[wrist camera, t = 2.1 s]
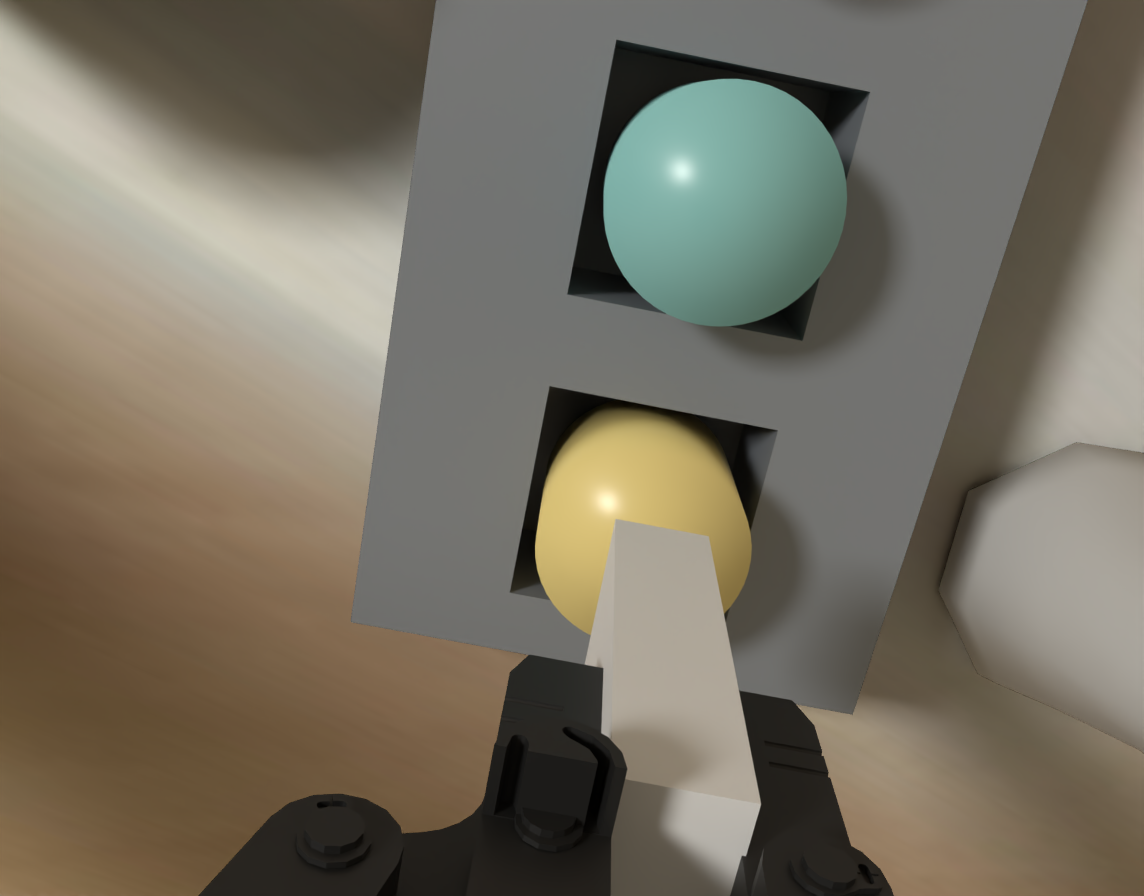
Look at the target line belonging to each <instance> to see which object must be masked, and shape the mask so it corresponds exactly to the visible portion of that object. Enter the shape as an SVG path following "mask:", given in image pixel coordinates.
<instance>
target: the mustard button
mask: <svg viewBox="0 0 1144 896" xmlns="http://www.w3.org/2000/svg"><path fill="white" fill-rule="evenodd" d="M615 519H619V520H624V521H630V522H635V523H641V524H646V525H651V526H657V527H662V528H667V529H673V530H678V531H683V532H689V533H694V534H699V535H705V536H709V541H710V546H711V551H712V556H713V561H714V566H715V571H716V576H717V581H718V587H719V592H720V597H721V602H722V607H723V612H724V613H725V612H726V611H727V610H728V609H729V608H730V607H731V605H732V604H733V602H734V601H735V600H736V598H737V597H738V595H739V593H740V591H741V589H742V587H743V585H744V583H745V580H746V578H747V575H748V572H749V567H750V562H751V550H752V544H751V533H750V529H749V525H748V521H747V518H746V515H745V512H744V509H743V506H742V503H741V500H740V497H739V494H738V491H737V488H736V485H735V482H734V479H733V476H732V473H731V470H730V467H729V464H728V461H727V458H726V456H725V453H724V451H723V448H722V446H721V445H720V443H719V441H718V439H717V438H716V436H715V435H714V434H713V432H712V431H711V430H710V429H709V428H708V427H707V426H706V425H705V424H704V423H703V422H702V421H701V420H700V419H699V418H698V417H696V416H695V415H694V414H691V413H686V412H681V411H676V410H670V409H665V408H660V407H655V406H650V405H645V404H639V403H634V402H629V401H624V400H615V401H611V402H607V403H605V404H602V405H600V406H597V407H595V408H593V409H591V410H590V411H588V412H586V413H585V414H583V415H582V416H580V417H579V418H578V419H576V420H575V421H574V422H573V423H572V424H571V425H570V426H569V427H568V428H567V429H566V430H565V432H564V433H563V434H562V435H561V437H560V438H559V440H558V441H557V443H556V445H555V446H554V448H553V451H552V453H551V455H550V458H549V461H548V465H547V468H546V474H545V481H544V488H543V494H542V501H541V507H540V514H539V521H538V527H537V534H536V542H535V558H536V564H537V571H538V574H539V577H540V580H541V583H542V585H543V587H544V589H545V592H546V594H547V595H548V597H549V598H550V600H551V601H552V603H553V605H554V606H555V607H556V608H557V609H558V611H559V612H560V613H561V614H562V615H563V616H564V617H565V618H566V619H567V620H569V621H570V622H571V623H572V624H573V625H575V626H576V627H578V628H579V629H580V630H582V631H583V632H585V633H587V634H589V635H591V632H592V627H593V623H594V618H595V613H596V609H597V604H598V599H599V594H600V590H601V585H602V580H603V576H604V571H605V566H606V561H607V557H608V552H609V547H610V543H611V538H612V533H613V528H614V524H615Z"/></svg>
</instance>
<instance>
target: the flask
mask: <svg viewBox="0 0 1144 896" xmlns="http://www.w3.org/2000/svg"><path fill="white" fill-rule="evenodd" d="M939 592H940V594H941V596H942V599H943V601H944V603H945V605H946V607H947V609H948V611H949V614H950V616H951V618H952V620H953V622H954V624H955V626H956V629H957V631H958V633H959V635H960V637H961V639H962V641H963V644H964V646H965V648H966V650H967V652H968V654H969V656H970V659H971V661H972V663H973V665H974V667H975V669H976V671H977V674H979V675H981V676H983V677H985V678H987V679H989V680H991V681H993V682H995V683H997V684H999V685H1002V686H1004V687H1006V688H1009V689H1011V690H1013V691H1016V692H1018V693H1020V694H1023V695H1025V696H1027V697H1030V698H1032V699H1034V700H1037V701H1039V702H1041V703H1043V704H1046V705H1048V706H1050V707H1053V708H1055V709H1057V710H1060V711H1062V712H1064V713H1066V714H1068V715H1070V716H1072V717H1074V718H1076V719H1078V720H1080V721H1082V722H1084V723H1086V724H1088V725H1090V726H1092V727H1094V728H1096V729H1098V730H1100V731H1102V732H1104V733H1106V734H1108V735H1110V736H1112V737H1114V738H1116V739H1118V740H1120V741H1122V742H1124V743H1126V744H1128V745H1130V746H1132V747H1134V748H1136V749H1138V750H1140V751H1141V752H1143V753H1144V453H1141V452H1135V451H1129V450H1122V449H1116V448H1109V447H1103V446H1097V445H1090V444H1084V443H1077V442H1076V443H1073V444H1071V445H1069V446H1067V447H1065V448H1062V449H1060V450H1058V451H1056V452H1054V453H1051V454H1049V455H1047V456H1045V457H1043V458H1040V459H1038V460H1036V461H1034V462H1032V463H1029V464H1027V465H1025V466H1023V467H1021V468H1018V469H1016V470H1014V471H1012V472H1010V473H1007V474H1005V475H1003V476H1001V477H999V478H996V479H994V480H992V481H990V482H988V483H985V484H983V485H981V486H979V487H976V488H974V489H972V490H970V491H968V494H967V497H966V501H965V504H964V507H963V511H962V514H961V517H960V521H959V524H958V527H957V531H956V534H955V537H954V540H953V544H952V547H951V550H950V554H949V557H948V560H947V564H946V567H945V570H944V574H943V577H942V580H941V584H940V587H939Z"/></svg>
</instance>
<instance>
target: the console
mask: <svg viewBox="0 0 1144 896" xmlns="http://www.w3.org/2000/svg"><path fill="white" fill-rule="evenodd" d="M1087 1H1088V0H436V4H435V11H434V18H433V26H432V33H431V40H430V48H429V55H428V62H427V69H426V77H425V84H424V91H423V99H422V106H421V113H420V120H419V128H418V135H417V142H416V150H415V157H414V164H413V171H412V179H411V186H410V193H409V200H408V208H407V215H406V222H405V230H404V237H403V244H402V251H401V259H400V266H399V273H398V281H397V288H396V295H395V302H394V310H393V317H392V324H391V332H390V339H389V346H388V353H387V361H386V368H385V375H384V383H383V390H382V397H381V404H380V412H379V419H378V426H377V434H376V441H375V448H374V455H373V463H372V470H371V477H370V484H369V492H368V499H367V506H366V514H365V521H364V528H363V535H362V543H361V550H360V557H359V565H358V572H357V579H356V586H355V594H354V601H353V608H352V616H351V622H353V623H358V624H364V625H369V626H375V627H380V628H385V629H391V630H396V631H402V632H407V633H413V634H418V635H423V636H429V637H434V638H440V639H445V640H451V641H456V642H461V643H467V644H472V645H478V646H483V647H489V648H494V649H499V650H505V651H510V652H516V653H521V654H527V655H535V656H541V657H546V658H552V659H557V660H562V661H568V662H573V663H579V664H584V665H585V660H586V656H587V651H588V646H589V642H590V637H591V635H589V634H587V633H585V632H583V631H582V630H580V629H579V628H578V627H576V626H575V625H573V624H572V623H571V622H570V621H569V620H567V619H566V618H565V617H564V616H563V615H562V614H561V613H560V612H559V611H558V609H557V608H556V607H555V606H554V605H553V603H552V601H551V600H550V598H549V597H548V595H547V594H546V592H545V589H544V587H543V585H542V583H541V580H540V577H539V574H538V571H537V564H536V558H535V542H536V534H537V527H538V521H539V514H540V507H541V501H542V494H543V488H544V481H545V474H546V468H547V465H548V461H549V458H550V455H551V453H552V451H553V448H554V446H555V445H556V443H557V441H558V440H559V438H560V437H561V435H562V434H563V433H564V432H565V430H566V429H567V428H568V427H569V426H570V425H571V424H572V423H573V422H574V421H575V420H576V419H578V418H579V417H580V416H582V415H583V414H585V413H586V412H588V411H590V410H591V409H593V408H595V407H597V406H600V405H602V404H605V403H607V402H611V401H615V400H624V401H629V402H634V403H639V404H645V405H650V406H655V407H660V408H665V409H670V410H676V411H681V412H686V413H691V414H694V415H695V416H696V417H698V418H699V419H700V420H701V421H702V422H703V423H704V424H705V425H706V426H707V427H708V428H709V429H710V430H711V431H712V432H713V434H714V435H715V436H716V438H717V439H718V441H719V443H720V445H721V446H722V448H723V451H724V453H725V456H726V458H727V461H728V464H729V467H730V470H731V473H732V476H733V479H734V482H735V485H736V488H737V491H738V494H739V497H740V500H741V503H742V506H743V509H744V512H745V515H746V518H747V521H748V525H749V529H750V533H751V544H752V550H751V562H750V567H749V572H748V575H747V578H746V580H745V583H744V585H743V587H742V589H741V591H740V593H739V595H738V597H737V598H736V600H735V601H734V602H733V604H732V605H731V607H730V608H729V609H728V610H727V611H726V612H725V613H724V617H725V622H726V627H727V633H728V638H729V643H730V648H731V653H732V658H733V663H734V668H735V673H736V678H737V684H738V689H739V690H740V691H745V692H751V693H756V694H761V695H767V696H772V697H778V698H783V699H788V700H792V701H793V702H794V703H795V704H798V705H803V706H809V707H814V708H819V709H825V710H830V711H836V712H841V713H847V714H852V715H853V712H854V709H855V706H856V703H857V700H858V697H859V694H860V691H861V688H862V685H863V682H864V678H865V675H866V672H867V669H868V666H869V663H870V660H871V657H872V654H873V651H874V648H875V645H876V642H877V639H878V636H879V633H880V630H881V627H882V624H883V621H884V618H885V615H886V612H887V609H888V606H889V603H890V600H891V597H892V593H893V590H894V587H895V584H896V581H897V578H898V575H899V572H900V569H901V566H902V563H903V560H904V557H905V554H906V551H907V548H908V545H909V542H910V539H911V536H912V533H913V530H914V527H915V524H916V521H917V518H918V515H919V511H920V508H921V505H922V502H923V499H924V496H925V493H926V490H927V487H928V484H929V481H930V478H931V475H932V472H933V469H934V466H935V463H936V460H937V457H938V454H939V451H940V448H941V445H942V442H943V439H944V436H945V433H946V429H947V426H948V423H949V420H950V417H951V414H952V411H953V408H954V405H955V402H956V399H957V396H958V393H959V390H960V387H961V384H962V381H963V378H964V375H965V372H966V369H967V366H968V363H969V360H970V357H971V354H972V351H973V348H974V344H975V341H976V338H977V335H978V332H979V329H980V326H981V323H982V320H983V317H984V314H985V311H986V308H987V305H988V302H989V299H990V296H991V293H992V290H993V287H994V284H995V281H996V278H997V275H998V272H999V269H1000V266H1001V262H1002V259H1003V256H1004V253H1005V250H1006V247H1007V244H1008V241H1009V238H1010V235H1011V232H1012V229H1013V226H1014V223H1015V220H1016V217H1017V214H1018V211H1019V208H1020V205H1021V202H1022V199H1023V196H1024V193H1025V190H1026V187H1027V184H1028V181H1029V177H1030V174H1031V171H1032V168H1033V165H1034V162H1035V159H1036V156H1037V153H1038V150H1039V147H1040V144H1041V141H1042V138H1043V135H1044V132H1045V129H1046V126H1047V123H1048V120H1049V117H1050V114H1051V111H1052V108H1053V105H1054V102H1055V99H1056V95H1057V92H1058V89H1059V86H1060V83H1061V80H1062V77H1063V74H1064V71H1065V68H1066V65H1067V62H1068V59H1069V56H1070V53H1071V50H1072V47H1073V44H1074V41H1075V38H1076V35H1077V32H1078V29H1079V26H1080V23H1081V20H1082V17H1083V13H1084V10H1085V7H1086V4H1087ZM717 79H743V80H750V81H756V82H760V83H763V84H767V85H770V86H773V87H775V88H777V89H779V90H782V91H784V92H786V93H787V94H789V95H791V96H792V97H794V98H795V99H797V100H799V101H800V102H801V103H802V104H804V105H805V106H806V107H807V108H808V109H809V110H811V111H812V112H813V113H814V115H815V116H816V117H817V118H818V119H819V120H820V121H821V122H822V124H823V125H824V127H825V128H826V130H827V131H828V133H829V134H830V136H831V137H832V139H833V141H834V143H835V145H836V148H837V150H838V152H839V155H840V158H841V161H842V164H843V168H844V173H845V178H846V187H847V206H846V217H845V221H844V226H843V231H842V234H841V237H840V240H839V243H838V246H837V248H836V250H835V252H834V254H833V256H832V258H831V260H830V262H829V263H828V265H827V266H826V268H825V270H824V271H823V273H822V274H821V275H820V277H819V278H818V279H817V280H816V281H815V283H814V284H813V285H812V286H811V287H810V288H809V289H808V290H807V291H806V292H805V293H804V294H803V295H802V296H800V297H799V298H798V299H797V300H795V301H794V302H793V303H791V304H790V305H788V306H787V307H785V308H784V309H782V310H780V311H778V312H776V313H775V314H773V315H770V316H768V317H765V318H763V319H760V320H758V321H754V322H750V323H746V324H742V325H734V326H705V325H698V324H694V323H690V322H686V321H682V320H680V319H677V318H675V317H673V316H670V315H668V314H666V313H664V312H663V311H661V310H659V309H657V308H656V307H654V306H653V305H652V304H650V303H649V302H648V301H646V300H645V299H644V298H643V297H642V296H641V295H640V294H639V293H638V292H637V291H636V290H635V289H634V288H633V287H632V286H631V285H630V283H629V282H628V281H627V279H626V278H625V277H624V275H623V274H622V272H621V270H620V269H619V267H618V265H617V263H616V262H615V259H614V257H613V254H612V252H611V249H610V247H609V243H608V239H607V235H606V231H605V223H604V176H605V169H606V165H607V161H608V157H609V154H610V152H611V149H612V147H613V144H614V142H615V140H616V139H617V137H618V135H619V133H620V131H621V130H622V128H623V127H624V126H625V124H626V123H627V122H628V120H629V119H630V118H631V117H632V116H633V115H634V114H635V113H636V112H637V111H638V110H639V109H640V108H641V107H642V106H643V105H645V104H646V103H647V102H648V101H650V100H651V99H653V98H654V97H656V96H658V95H659V94H661V93H663V92H665V91H667V90H669V89H672V88H674V87H677V86H680V85H684V84H687V83H693V82H700V81H708V80H717Z"/></svg>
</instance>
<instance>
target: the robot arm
mask: <svg viewBox="0 0 1144 896" xmlns="http://www.w3.org/2000/svg"><path fill="white" fill-rule="evenodd" d="M821 755H822V749H821V746H820V743H819V740H818V736H817V733H816V730H815V727H814V725H813V724H812V722H811V721H810V720H809V719H808V718H807V717H806V716H805V714H804V713H803V712H802V711H801V710H800V709H799V708H798V706H797V705H796V704H795V703H794V702H793V701H792V700H788V699H783V698H778V697H772V696H767V695H761V694H756V693H751V692H745V691H740V690H739V689H738V684H737V678H736V673H735V668H734V663H733V658H732V653H731V648H730V643H729V638H728V633H727V627H726V622H725V617H724V612H723V607H722V602H721V597H720V592H719V587H718V581H717V576H716V571H715V566H714V561H713V556H712V551H711V546H710V541H709V536H705V535H699V534H694V533H689V532H683V531H678V530H673V529H667V528H662V527H657V526H651V525H646V524H641V523H635V522H630V521H624V520H619V519H615V524H614V528H613V533H612V538H611V543H610V547H609V552H608V557H607V561H606V566H605V571H604V576H603V580H602V585H601V590H600V594H599V599H598V604H597V609H596V613H595V618H594V623H593V627H592V632H591V637H590V642H589V646H588V651H587V656H586V660H585V665H584V664H579V663H573V662H568V661H562V660H557V659H552V658H546V657H541V656H535V655H529V656H527V657H526V658H525V659H524V660H523V661H522V662H521V663H520V664H519V665H518V666H516V667H515V668H514V669H513V670H512V671H511V672H510V676H509V681H508V686H507V691H506V696H505V701H504V706H503V711H502V716H501V721H500V726H499V731H498V736H497V741H496V743H495V744H494V749H493V755H492V760H491V766H490V771H489V776H488V782H487V787H486V793H485V797H484V799H483V802H482V804H481V805H480V806H479V807H478V809H477V810H476V811H475V812H474V813H473V814H472V815H471V816H469V817H468V818H466V819H465V820H463V821H461V822H460V823H458V824H455V825H452V826H450V827H447V828H444V829H441V830H434V831H427V832H419V833H403V834H402V832H401V828H400V826H399V824H398V823H397V822H396V821H395V820H394V818H393V817H392V816H391V815H390V814H389V813H388V811H387V810H385V809H383V808H381V807H379V806H378V805H376V804H374V803H372V802H370V801H368V800H367V799H363V798H358V797H354V796H349V795H344V794H325V795H313V796H309V797H306V798H303V799H300V800H297V801H294V802H291V803H289V804H287V805H286V806H285V807H283V808H282V809H281V810H279V811H278V812H277V813H275V814H274V815H272V816H271V817H270V818H269V819H268V820H267V821H266V822H265V824H264V825H263V826H262V827H261V828H260V829H259V830H258V831H257V832H256V833H255V834H254V836H253V837H252V838H251V839H250V840H249V841H248V842H247V843H246V844H245V845H244V846H243V848H242V849H241V850H240V851H239V852H238V853H237V854H236V855H235V856H234V857H233V859H232V860H231V861H230V862H229V863H228V864H227V865H226V866H225V867H224V868H223V869H222V871H221V872H220V873H219V874H218V875H217V876H216V877H215V878H214V879H213V880H212V881H211V883H210V884H209V885H208V886H207V887H206V888H205V889H204V890H203V891H202V892H201V893H200V895H199V896H894V895H893V892H892V889H891V887H890V885H889V884H888V882H887V880H886V878H885V877H884V875H883V873H882V871H881V870H880V868H878V867H877V866H876V865H875V864H874V863H873V862H872V861H871V860H870V859H869V858H868V857H867V856H866V855H864V854H863V853H862V852H861V851H859V850H857V849H855V848H854V847H852V846H851V844H850V841H849V838H848V835H847V831H846V828H845V825H844V821H843V818H842V815H841V812H840V808H839V805H838V802H837V799H836V795H835V792H834V789H833V785H832V782H831V779H830V778H828V769H827V766H826V763H825V759H824V756H821Z"/></svg>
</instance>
